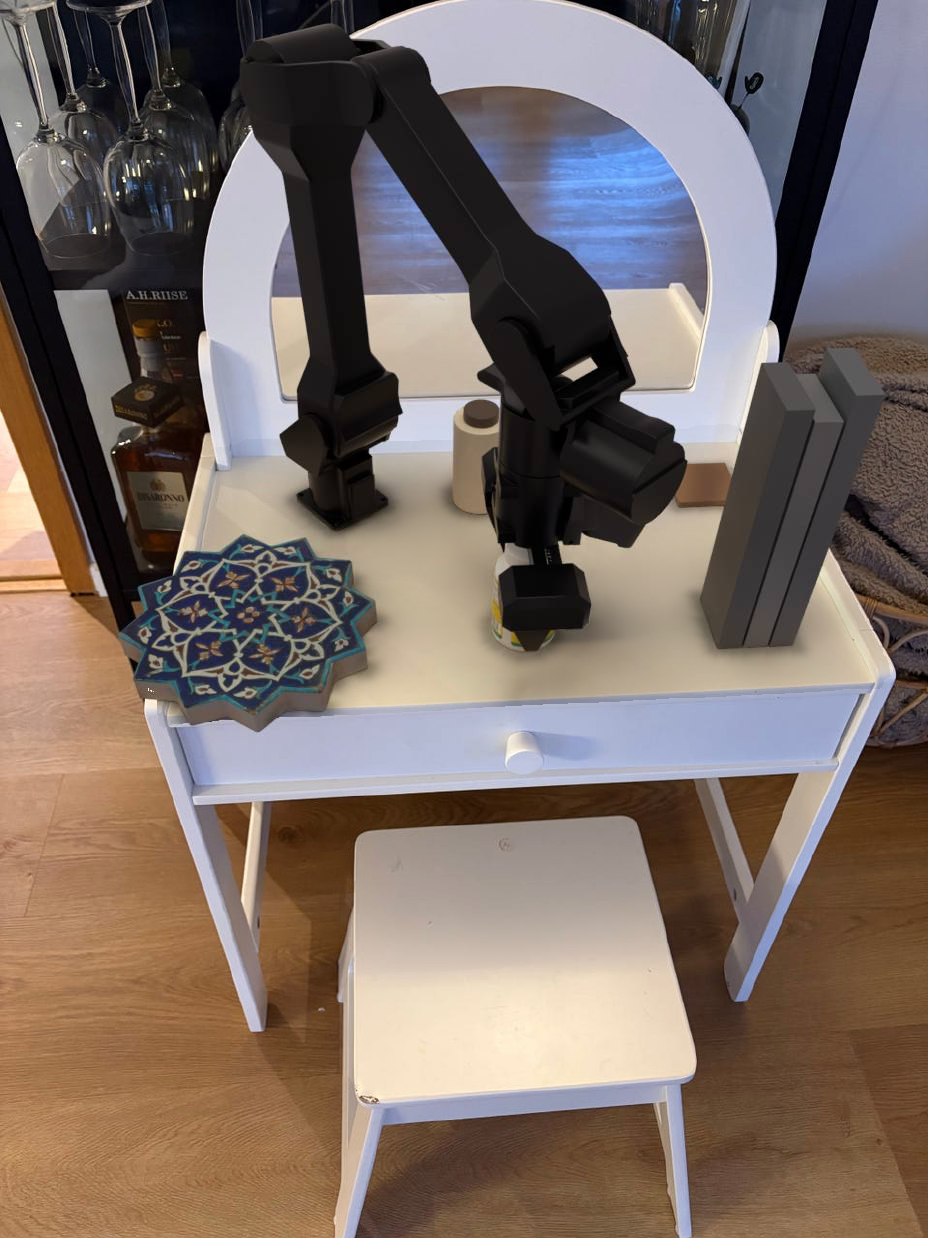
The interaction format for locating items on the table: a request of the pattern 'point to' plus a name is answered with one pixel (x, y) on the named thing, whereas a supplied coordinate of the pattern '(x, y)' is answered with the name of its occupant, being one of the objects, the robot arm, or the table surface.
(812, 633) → the table surface
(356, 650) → the decorative tile
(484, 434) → the cream bottle
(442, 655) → the table surface
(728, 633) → the grey grooved column
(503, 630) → the supplement bottle
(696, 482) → the oak coaster
